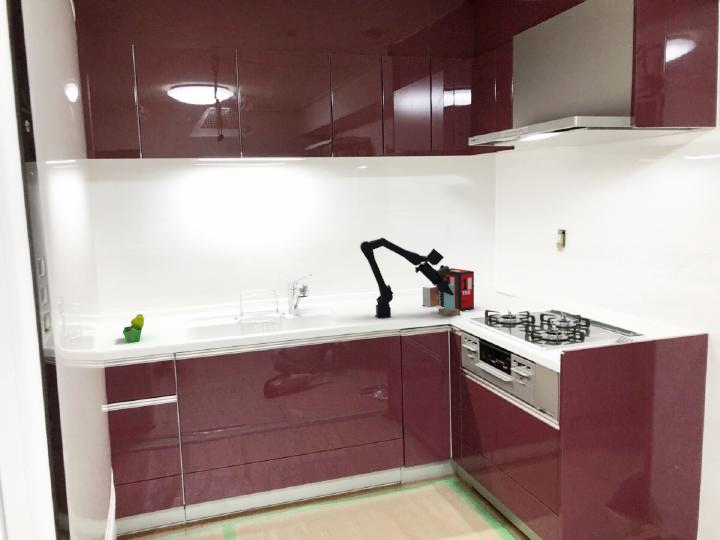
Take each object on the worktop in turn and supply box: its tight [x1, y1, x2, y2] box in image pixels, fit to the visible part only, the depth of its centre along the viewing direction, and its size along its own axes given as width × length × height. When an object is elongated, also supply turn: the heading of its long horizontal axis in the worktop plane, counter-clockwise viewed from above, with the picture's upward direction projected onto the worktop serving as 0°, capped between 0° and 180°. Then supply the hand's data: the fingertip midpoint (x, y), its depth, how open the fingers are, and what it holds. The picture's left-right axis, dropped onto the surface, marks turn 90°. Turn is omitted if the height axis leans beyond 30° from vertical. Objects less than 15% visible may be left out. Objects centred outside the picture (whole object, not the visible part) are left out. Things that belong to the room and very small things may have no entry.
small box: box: [422, 284, 440, 308], centre depth 317 cm, size 8×6×10 cm
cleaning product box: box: [439, 267, 475, 312], centre depth 308 cm, size 16×9×20 cm, turn 32°
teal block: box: [444, 284, 455, 311], centre depth 293 cm, size 4×4×12 cm
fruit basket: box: [122, 313, 145, 344], centre depth 259 cm, size 11×9×11 cm
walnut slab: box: [437, 307, 461, 318], centre depth 294 cm, size 8×8×2 cm
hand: (451, 293), depth 293 cm, fingers open, 7 cm apart
